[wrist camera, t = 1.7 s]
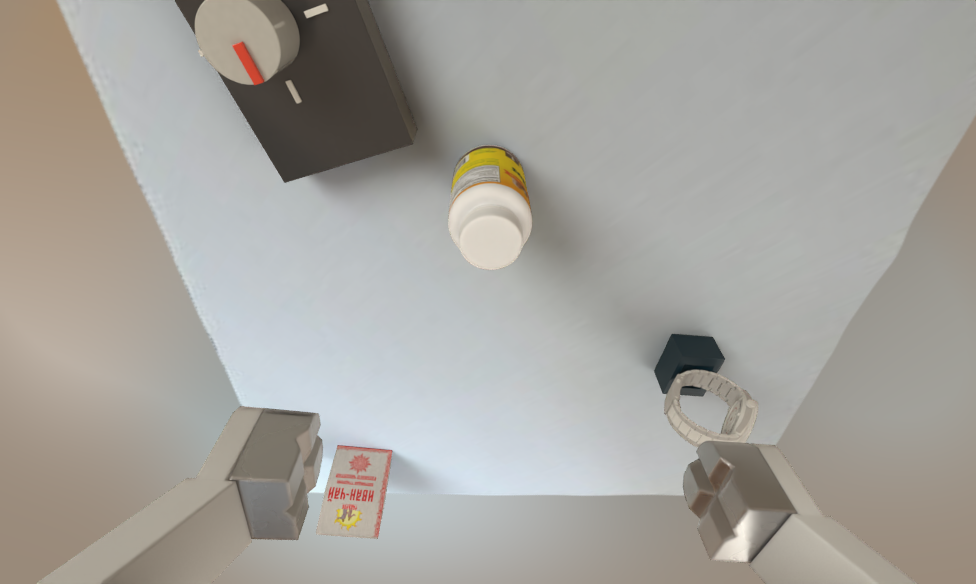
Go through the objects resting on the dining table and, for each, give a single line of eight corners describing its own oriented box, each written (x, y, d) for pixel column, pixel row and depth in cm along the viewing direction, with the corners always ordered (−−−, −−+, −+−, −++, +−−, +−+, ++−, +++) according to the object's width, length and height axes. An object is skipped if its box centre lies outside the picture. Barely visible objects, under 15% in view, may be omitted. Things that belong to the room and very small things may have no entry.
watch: (709, 375, 51) (756, 466, 43) (638, 370, 51) (670, 461, 42) (731, 337, 48) (786, 428, 39) (655, 331, 47) (694, 422, 39)
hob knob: (206, 1, 27) (172, 10, 24) (274, -25, 26) (247, -19, 23) (251, 79, 30) (225, 96, 27) (313, 57, 29) (294, 72, 26)
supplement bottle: (527, 202, 38) (539, 275, 30) (460, 212, 39) (455, 286, 31) (520, 135, 35) (531, 197, 27) (447, 147, 35) (436, 211, 27)
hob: (170, -46, 28) (140, -43, 26) (325, -109, 26) (309, -114, 24) (293, 167, 36) (280, 185, 34) (417, 129, 35) (412, 145, 32)
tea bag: (390, 466, 62) (377, 545, 54) (338, 462, 61) (316, 541, 53) (392, 450, 59) (378, 530, 51) (337, 445, 59) (315, 525, 51)
